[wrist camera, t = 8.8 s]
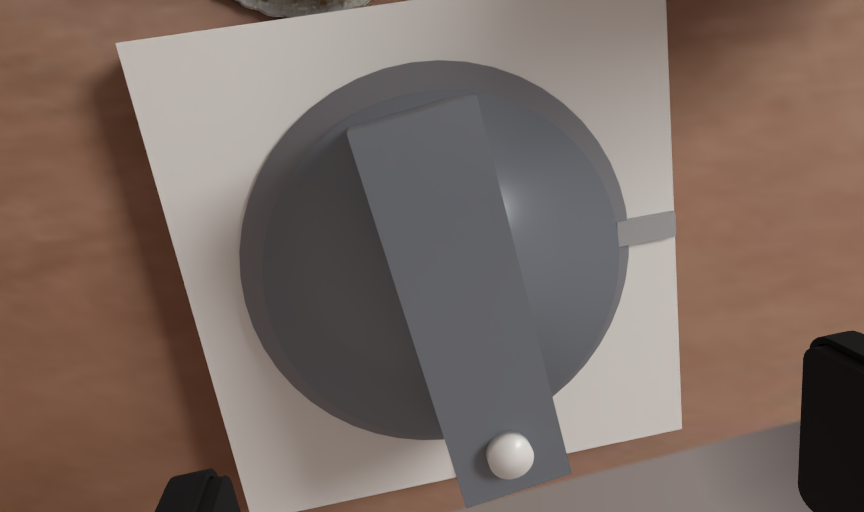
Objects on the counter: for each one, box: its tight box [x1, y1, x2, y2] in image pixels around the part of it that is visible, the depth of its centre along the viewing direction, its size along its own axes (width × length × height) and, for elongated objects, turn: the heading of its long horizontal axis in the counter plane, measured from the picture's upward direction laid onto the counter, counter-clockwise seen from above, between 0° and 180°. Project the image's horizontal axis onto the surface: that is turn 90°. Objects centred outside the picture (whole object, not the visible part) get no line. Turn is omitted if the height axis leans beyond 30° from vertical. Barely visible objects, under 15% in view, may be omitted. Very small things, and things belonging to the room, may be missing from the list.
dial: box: [262, 89, 619, 508], centre depth 19 cm, size 13×13×6 cm
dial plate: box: [115, 0, 682, 512], centre depth 23 cm, size 19×19×2 cm
